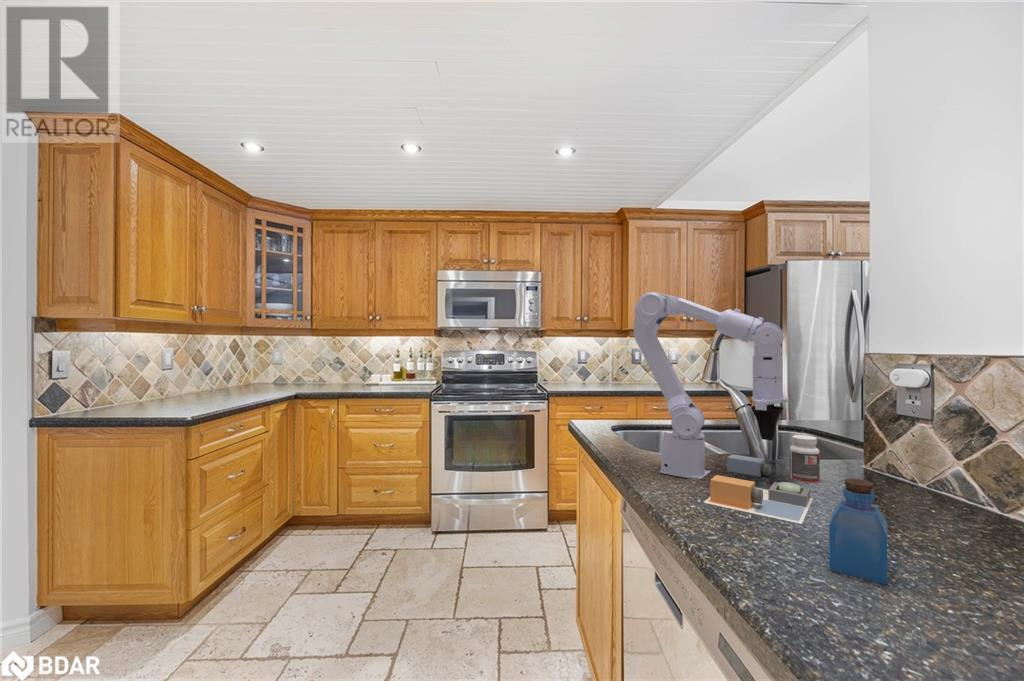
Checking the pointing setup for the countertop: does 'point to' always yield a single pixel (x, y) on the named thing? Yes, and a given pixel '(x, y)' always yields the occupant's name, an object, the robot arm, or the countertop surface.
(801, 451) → the pill bottle
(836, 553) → the perfume bottle
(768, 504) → the sheet
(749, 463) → the grey-capped blue block
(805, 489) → the button housing
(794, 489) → the button
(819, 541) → the countertop surface
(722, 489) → the orange marker
